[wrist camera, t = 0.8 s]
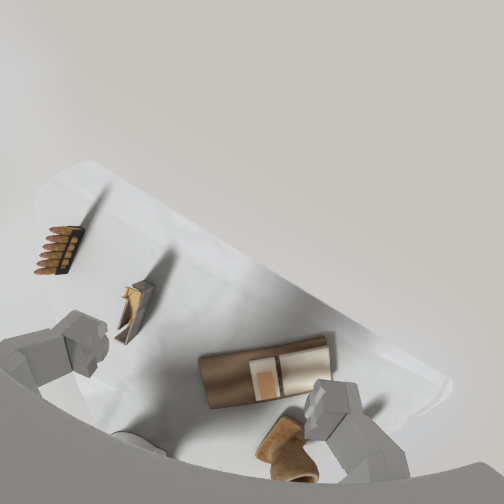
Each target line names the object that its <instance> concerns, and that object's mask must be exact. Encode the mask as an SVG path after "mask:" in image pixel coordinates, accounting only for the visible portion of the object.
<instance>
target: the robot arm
mask: <svg viewBox="0 0 504 504" xmlns="http://www.w3.org/2000/svg"><path fill="white" fill-rule="evenodd" d="M107 331H108V330H107V324H106V323H105V322H103V321H100V320H98V319H96V318H93V317H91V316H89V315H87V314H84V313H82V312H79V311H77V310H73V311H71V312H70V313H69V314H68V315H67V316H66V317H65V318H64V319H63V320H61V321H60V322H59V323H58V324H57V325H56V326H55V327H54V328H53V329H52V330H50V329H45V330H41V331H37V332H33V333H29V334H25V335H21V336H16V337H13V338H8V339H4V340H3V341H1V342H0V504H504V477H503V476H502V475H501V474H499V473H498V472H496V470H494V469H493V468H491V467H490V466H489V465H487V464H485V463H482V462H478V463H474V464H470V465H467V466H464V467H460V468H456V469H452V470H448V471H444V472H440V473H435V474H430V475H425V476H419V477H414V478H411V477H410V473H409V469H408V464H407V460H406V456H405V452H404V451H403V450H402V449H401V448H400V447H399V446H398V445H397V444H396V443H394V441H393V440H392V439H391V438H390V437H389V436H388V435H387V434H386V433H385V432H384V431H383V430H382V429H381V428H380V427H379V426H378V425H377V424H376V423H375V422H374V421H373V420H372V419H371V418H370V417H369V416H368V415H364V413H363V408H362V404H361V399H360V395H359V391H358V387H357V384H356V383H351V382H340V381H332V380H324V379H317V380H316V382H315V384H314V385H313V386H314V391H312V392H311V393H309V395H308V397H307V399H306V403H305V408H304V416H305V417H306V419H307V421H306V423H305V425H304V428H305V439H312V440H321V441H326V443H327V445H328V446H329V448H330V449H331V451H332V452H333V454H334V455H335V457H336V458H337V460H338V461H339V463H340V464H341V466H342V467H343V469H344V470H345V472H346V473H347V474H348V475H347V476H346V477H345V478H344V479H343V480H341V481H340V482H339V483H338V484H324V483H323V484H322V483H301V482H288V481H278V480H269V479H262V478H255V477H248V476H242V475H237V474H232V473H227V472H222V471H217V470H213V469H209V468H205V467H201V466H197V465H193V464H189V463H186V462H183V461H179V460H176V459H173V458H169V457H167V454H166V452H165V451H163V450H161V449H159V448H157V447H154V446H153V445H152V444H150V443H149V442H148V441H146V440H145V439H143V438H141V437H139V436H137V435H134V434H131V433H126V432H117V433H114V434H112V435H110V434H108V433H105V432H103V431H101V430H99V429H97V428H95V427H93V426H91V425H89V424H87V423H85V422H83V421H81V420H79V419H77V418H75V417H73V416H72V415H70V414H68V413H67V412H65V411H63V410H61V409H59V408H58V407H56V406H55V405H53V404H51V403H50V402H48V401H47V400H45V399H43V398H42V395H41V393H40V391H39V389H38V387H40V386H42V385H44V384H46V383H48V382H51V381H53V380H55V379H57V378H59V377H61V376H64V375H66V374H68V373H70V372H72V370H73V371H75V372H77V373H79V374H81V375H83V376H86V377H88V378H90V377H91V376H92V374H93V373H94V372H95V370H96V369H97V363H98V362H101V361H103V360H104V358H105V357H106V355H107V353H108V350H109V339H108V338H107V336H106V335H105V333H106V332H107Z"/></svg>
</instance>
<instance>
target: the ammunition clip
mask: <svg viewBox="0 0 504 504" xmlns="http://www.w3.org/2000/svg"><path fill="white" fill-rule="evenodd" d="M49 230H50V231H51V232H53V233H57V234H60V235H52V236H48V237H46V240H48V241H51V242H57V243H53V244H46V245H44V246H43V248H44V249H46V250H53V251H50V252H44V253H41V254H40V255H39V256H40V257H42V258H50V259H47V260H42V261H40V262H38V263H37V265H38V266H41V267H45V268H41V269H37V270H36V271H34V273H35V274H37V275H50V274H55V275H60V274H67V273H68V271H69V268H70V265H71V263H72V260H73V258H74V255H75V253H76V250H77V248H78V246H79V243H80V241H81V239H82V236H83V234H84V232H85V230H84V229H82V228H81V227H79V226H67V227H64V226H62V227H52V228H50V229H49Z"/></svg>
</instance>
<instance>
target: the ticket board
mask: <svg viewBox="0 0 504 504" xmlns="http://www.w3.org/2000/svg"><path fill="white" fill-rule="evenodd" d="M270 357H274V358H275V364H276V370H277V377H278V384H279V390H280V397H276V398H271V399H265V400H259V401H256V396H255V391H254V386H253V381H252V375H251V370H250V364H249V361H253V360H258V359H264V358H270ZM198 363H199V367H200V371H201V375H202V379H203V383H204V387H205V391H206V395H207V398H208V402H209V406H210V409H218V408H226V407H234V406H241V405H248V404H254V403H260V402H266V401H272V400H277V399H282V398H287V397H292V396H297V395H301V394H306V393H310V392H312V391H314V386H313V385H314V384H315V382H316V380H317V379H324V380H331V370H330V357H329V347H328V346H327V345H326V338H325V337H324V336H322V337H318V338H313V339H309V340H304V341H299V342H294V343H289V344H284V345H279V346H274V347H269V348H263V349H257V350H251V351H245V352H239V353H232V354H225V355H218V356H211V357H203V358H199V359H198Z"/></svg>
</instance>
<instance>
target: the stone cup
mask: <svg viewBox="0 0 504 504" xmlns="http://www.w3.org/2000/svg"><path fill="white" fill-rule="evenodd" d="M306 441H307V439H305V428H304V426H303V425H302V424H300V423H299V422H297V421H295V420H294V419H292V418H290V417H287V416H282V417H281V418H280V419H279V421H278V422H277V423H276V424H275V426H274V427H273V428H272V430H271V431H270V432H269V434H268V435H267V436H266V438H265V439H264V440H263V442H262V443H261V445H260V446H259V448H258V449H257V451H256V455H255V456H256V457H257V458H258V459H260V460H261V461H264V462H266V463H270V464H271V470H270V473H271V479H272V480H278V481H288V482H301V483H317V481H318V479H319V472H318V469H317V466H316V464H315V462H314V461H313V460H312V459H311V458H310V457H309V456H308V454H307V453H306V452H305V451H304V449H303V445H304V444H305V443H306Z"/></svg>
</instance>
